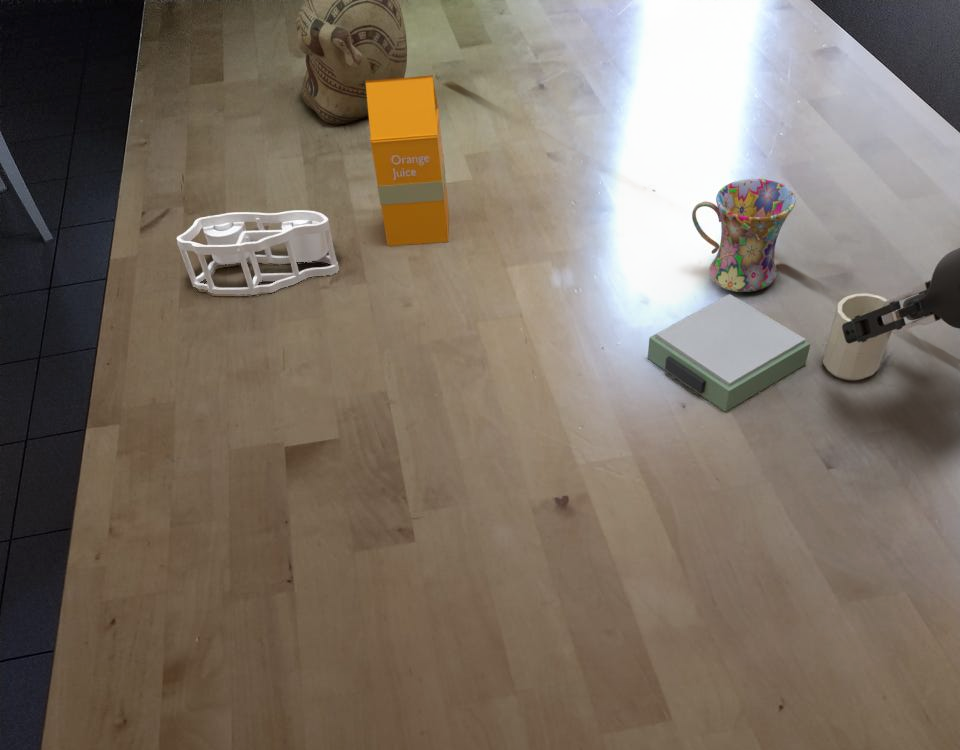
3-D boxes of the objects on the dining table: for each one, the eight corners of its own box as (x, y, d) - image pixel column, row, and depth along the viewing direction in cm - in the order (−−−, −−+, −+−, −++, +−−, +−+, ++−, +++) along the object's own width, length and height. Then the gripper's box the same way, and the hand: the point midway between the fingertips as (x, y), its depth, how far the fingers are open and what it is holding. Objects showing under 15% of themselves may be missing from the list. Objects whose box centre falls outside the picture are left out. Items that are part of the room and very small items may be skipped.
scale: (725, 315, 112) (729, 290, 109) (805, 364, 105) (812, 339, 102) (644, 360, 108) (646, 335, 105) (721, 414, 101) (726, 389, 98)
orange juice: (448, 242, 126) (432, 88, 110) (387, 246, 127) (361, 94, 111) (449, 213, 131) (434, 62, 115) (389, 217, 131) (366, 67, 115)
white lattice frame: (345, 250, 127) (334, 199, 121) (331, 295, 121) (319, 244, 115) (210, 253, 129) (193, 203, 123) (189, 298, 123) (170, 248, 117)
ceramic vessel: (293, 138, 148) (242, -86, 124) (313, 81, 161) (270, -132, 137) (407, 132, 147) (377, -96, 123) (418, 75, 159) (393, -142, 135)
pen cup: (846, 343, 107) (863, 286, 101) (889, 368, 104) (909, 311, 98) (809, 364, 105) (825, 308, 99) (852, 390, 102) (871, 334, 96)
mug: (784, 263, 117) (802, 183, 109) (770, 304, 113) (788, 222, 104) (693, 251, 121) (704, 171, 112) (676, 289, 116) (686, 210, 107)
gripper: (1049, 212, 83) (920, 267, 98) (927, 258, 80) (814, 307, 95) (1068, 291, 84) (938, 333, 100) (949, 340, 81) (834, 375, 97)
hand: (878, 321), depth 98 cm, fingers open, 8 cm apart
